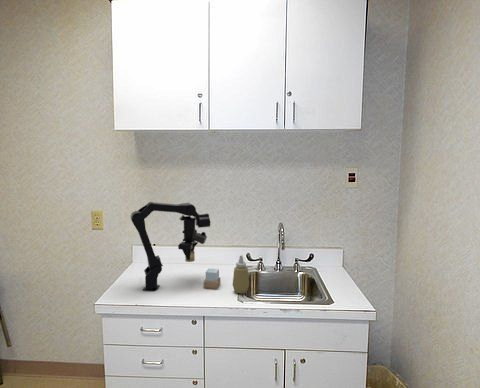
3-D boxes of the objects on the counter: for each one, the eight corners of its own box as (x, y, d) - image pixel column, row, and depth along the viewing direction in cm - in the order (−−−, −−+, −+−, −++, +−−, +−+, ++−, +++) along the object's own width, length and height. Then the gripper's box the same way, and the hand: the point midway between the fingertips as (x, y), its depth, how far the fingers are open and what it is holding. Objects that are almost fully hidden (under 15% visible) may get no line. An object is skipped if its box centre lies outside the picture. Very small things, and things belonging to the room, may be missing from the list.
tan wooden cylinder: (193, 262, 182) (193, 253, 181) (184, 261, 183) (184, 252, 182) (195, 259, 186) (195, 250, 186) (187, 258, 187) (186, 250, 186)
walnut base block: (217, 290, 178) (217, 282, 178) (203, 289, 179) (203, 281, 179) (220, 285, 185) (220, 277, 185) (207, 284, 186) (207, 276, 186)
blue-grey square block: (216, 281, 179) (216, 272, 178) (205, 280, 180) (205, 272, 179) (218, 277, 184) (219, 269, 184) (208, 277, 185) (208, 268, 185)
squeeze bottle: (236, 296, 171) (236, 259, 168) (230, 290, 178) (230, 254, 176) (251, 293, 174) (252, 257, 171) (245, 287, 181) (245, 252, 179)
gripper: (200, 233, 172) (200, 265, 174) (209, 224, 190) (209, 253, 192) (177, 232, 174) (178, 264, 176) (188, 224, 192) (189, 252, 194)
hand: (190, 258), depth 184 cm, fingers closed on tan wooden cylinder, 5 cm apart
